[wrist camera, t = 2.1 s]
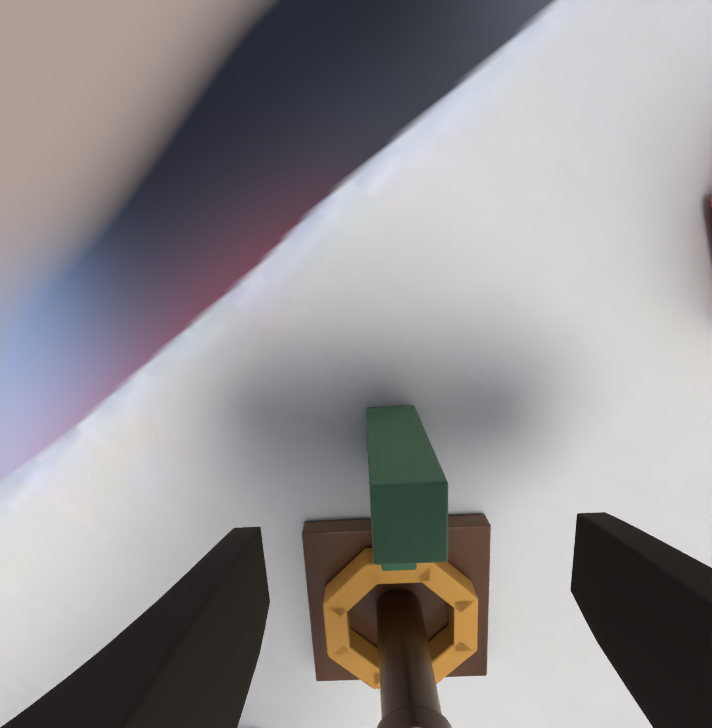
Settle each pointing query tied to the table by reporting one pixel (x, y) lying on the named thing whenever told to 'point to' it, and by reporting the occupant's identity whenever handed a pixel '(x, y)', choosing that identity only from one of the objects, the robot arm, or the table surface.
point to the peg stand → (398, 616)
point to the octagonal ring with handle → (402, 547)
